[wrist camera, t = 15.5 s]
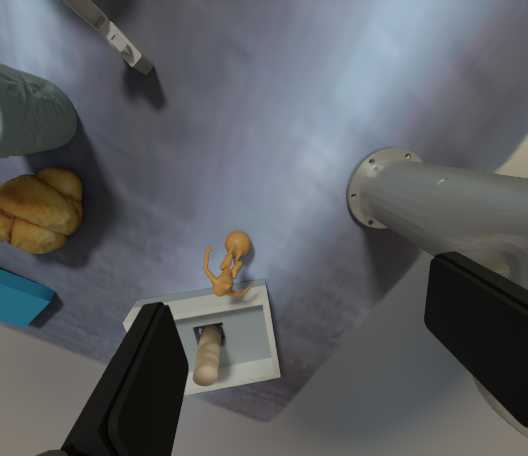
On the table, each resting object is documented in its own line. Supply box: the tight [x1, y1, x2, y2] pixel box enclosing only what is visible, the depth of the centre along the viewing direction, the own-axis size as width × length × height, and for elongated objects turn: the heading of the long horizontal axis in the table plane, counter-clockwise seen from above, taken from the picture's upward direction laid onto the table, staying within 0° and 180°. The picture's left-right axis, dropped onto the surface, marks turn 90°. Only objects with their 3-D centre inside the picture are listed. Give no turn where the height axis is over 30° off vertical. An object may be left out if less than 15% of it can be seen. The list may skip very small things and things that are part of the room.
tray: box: [123, 279, 281, 395], centre depth 43 cm, size 22×17×6 cm
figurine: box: [204, 231, 254, 297], centre depth 35 cm, size 8×6×12 cm
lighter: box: [62, 0, 154, 75], centre depth 27 cm, size 7×2×8 cm, turn 42°
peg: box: [193, 323, 222, 386], centre depth 41 cm, size 4×4×10 cm
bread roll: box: [0, 168, 83, 254], centre depth 32 cm, size 13×10×8 cm
